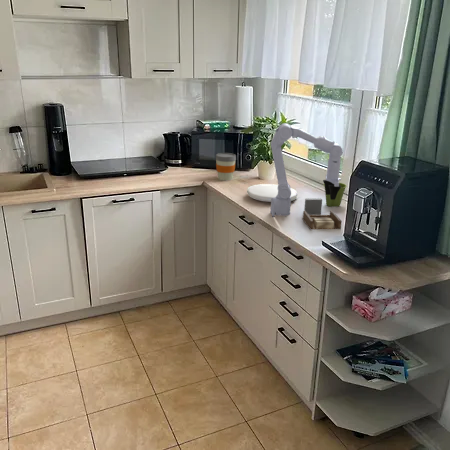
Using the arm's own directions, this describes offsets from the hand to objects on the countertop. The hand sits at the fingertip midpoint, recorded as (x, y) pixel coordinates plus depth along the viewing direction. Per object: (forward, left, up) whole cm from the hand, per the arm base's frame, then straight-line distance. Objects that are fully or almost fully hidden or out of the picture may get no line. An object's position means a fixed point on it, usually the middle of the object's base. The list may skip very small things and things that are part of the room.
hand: (330, 196), depth 225 cm
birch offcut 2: (-7, -16, -9) cm, 20 cm away
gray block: (-7, +3, -10) cm, 13 cm away
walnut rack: (-7, -11, -10) cm, 17 cm away
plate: (-22, +32, -11) cm, 40 cm away
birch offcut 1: (-7, -13, -9) cm, 18 cm away
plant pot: (+8, +18, -11) cm, 22 cm away
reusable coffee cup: (-44, +72, -11) cm, 85 cm away
